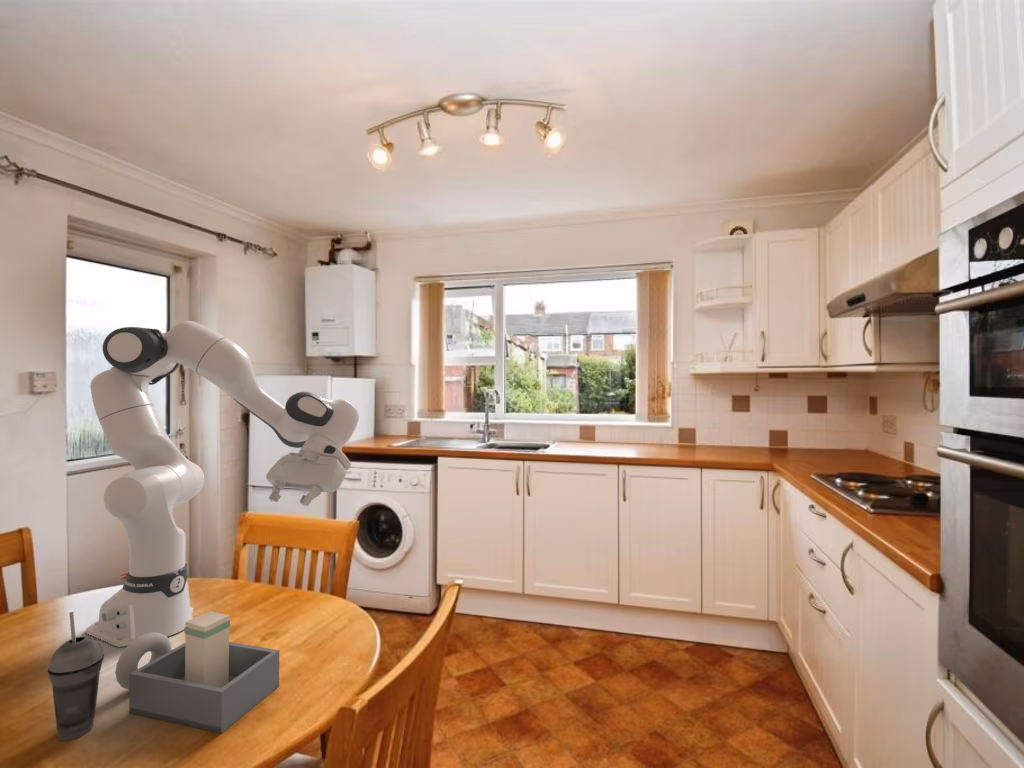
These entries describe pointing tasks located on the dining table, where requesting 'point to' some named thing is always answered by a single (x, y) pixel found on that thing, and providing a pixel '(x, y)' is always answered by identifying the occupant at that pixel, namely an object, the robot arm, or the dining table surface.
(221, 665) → the juice carton
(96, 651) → the beverage cup
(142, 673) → the box
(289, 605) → the dining table surface
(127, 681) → the donut
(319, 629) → the dining table surface
